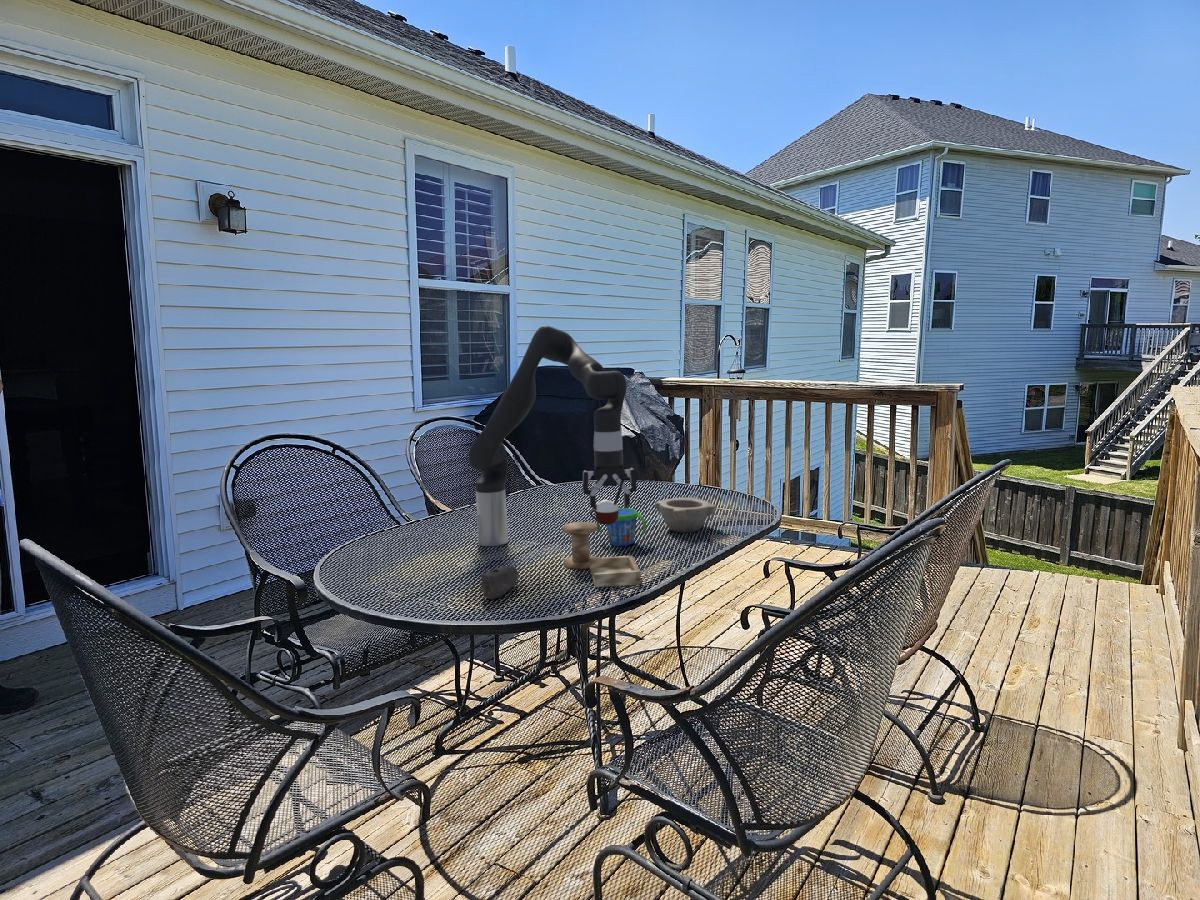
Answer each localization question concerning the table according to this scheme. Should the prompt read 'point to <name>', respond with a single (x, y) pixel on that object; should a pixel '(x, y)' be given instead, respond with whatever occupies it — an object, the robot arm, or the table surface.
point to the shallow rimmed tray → (614, 571)
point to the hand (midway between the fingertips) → (610, 508)
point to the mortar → (685, 513)
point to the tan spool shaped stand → (579, 544)
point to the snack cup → (623, 527)
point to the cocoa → (607, 510)
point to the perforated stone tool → (498, 581)
